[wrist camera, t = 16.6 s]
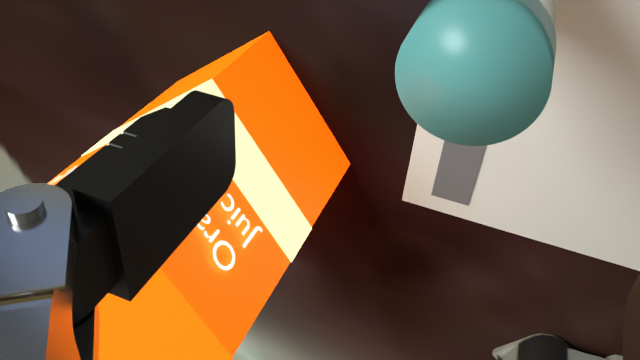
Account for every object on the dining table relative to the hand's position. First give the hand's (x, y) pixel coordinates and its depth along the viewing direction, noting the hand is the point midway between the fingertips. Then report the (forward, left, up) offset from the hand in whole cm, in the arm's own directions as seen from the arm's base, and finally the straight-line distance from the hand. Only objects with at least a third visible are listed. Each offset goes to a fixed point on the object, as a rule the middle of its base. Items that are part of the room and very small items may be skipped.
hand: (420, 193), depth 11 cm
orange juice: (+12, +12, -18) cm, 24 cm away
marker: (0, 0, -17) cm, 17 cm away
